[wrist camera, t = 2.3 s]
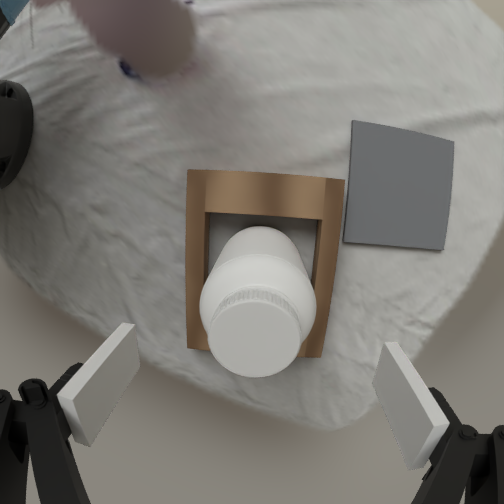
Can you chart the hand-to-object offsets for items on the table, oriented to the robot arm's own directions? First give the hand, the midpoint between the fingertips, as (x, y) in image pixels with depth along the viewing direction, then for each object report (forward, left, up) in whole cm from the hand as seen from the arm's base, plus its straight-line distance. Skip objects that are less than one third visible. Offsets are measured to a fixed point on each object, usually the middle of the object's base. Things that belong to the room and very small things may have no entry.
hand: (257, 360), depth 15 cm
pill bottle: (0, 0, -17) cm, 17 cm away
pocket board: (0, 0, -17) cm, 17 cm away
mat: (+14, +9, -17) cm, 23 cm away
